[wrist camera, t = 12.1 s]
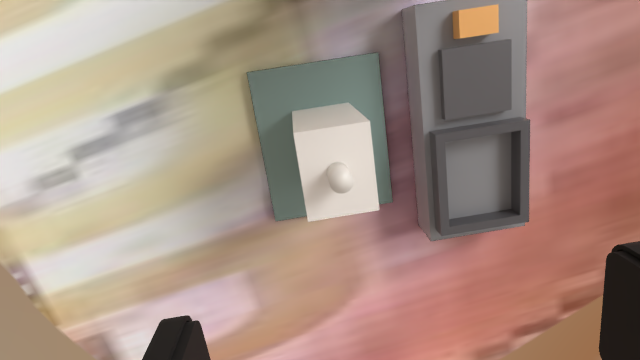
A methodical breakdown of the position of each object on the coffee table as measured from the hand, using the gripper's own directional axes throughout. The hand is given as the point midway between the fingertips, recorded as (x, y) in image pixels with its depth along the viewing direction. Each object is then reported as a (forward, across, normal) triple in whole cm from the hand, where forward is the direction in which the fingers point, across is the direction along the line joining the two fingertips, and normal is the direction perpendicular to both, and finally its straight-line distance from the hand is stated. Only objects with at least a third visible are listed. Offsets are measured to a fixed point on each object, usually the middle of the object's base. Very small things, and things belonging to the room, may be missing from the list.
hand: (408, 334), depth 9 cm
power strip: (+22, -10, 0) cm, 24 cm away
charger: (+21, 0, 0) cm, 21 cm away
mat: (+22, 0, 0) cm, 22 cm away
